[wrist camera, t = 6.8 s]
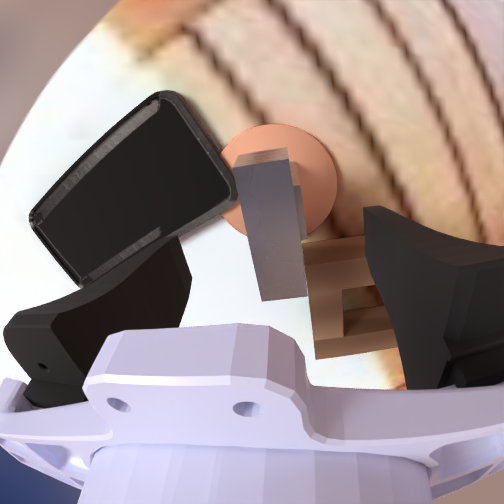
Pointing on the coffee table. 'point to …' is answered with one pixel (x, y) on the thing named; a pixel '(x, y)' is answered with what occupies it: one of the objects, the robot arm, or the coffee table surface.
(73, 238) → the phone
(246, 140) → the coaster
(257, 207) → the t key
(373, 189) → the coffee table surface
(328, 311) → the socket block
